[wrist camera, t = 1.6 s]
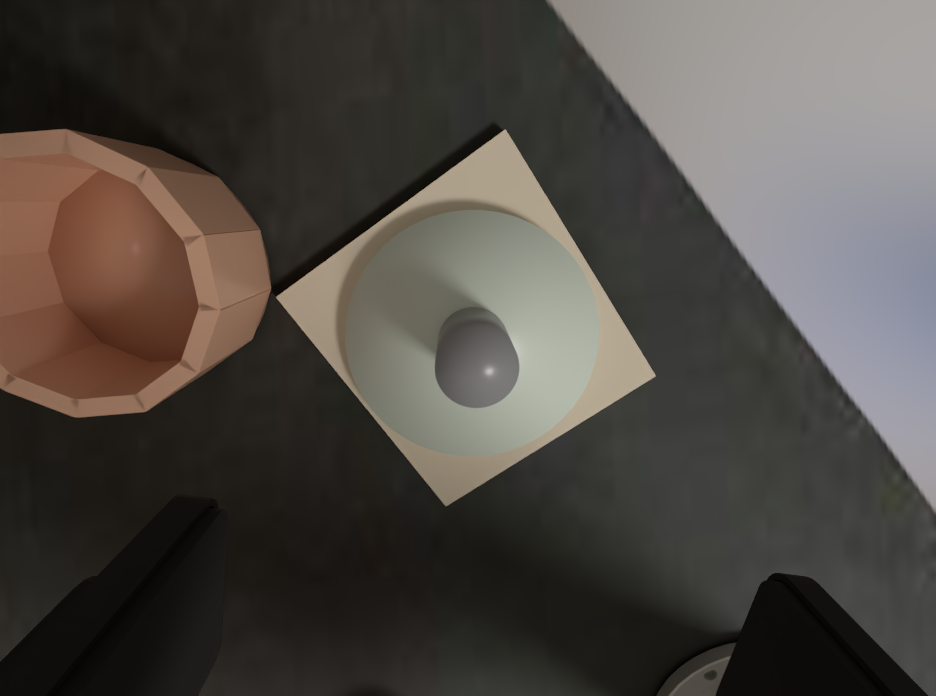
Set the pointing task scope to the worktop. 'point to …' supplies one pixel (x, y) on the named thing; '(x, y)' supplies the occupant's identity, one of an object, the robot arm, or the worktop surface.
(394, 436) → the mat
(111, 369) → the bowl
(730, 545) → the worktop surface
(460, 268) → the lid
